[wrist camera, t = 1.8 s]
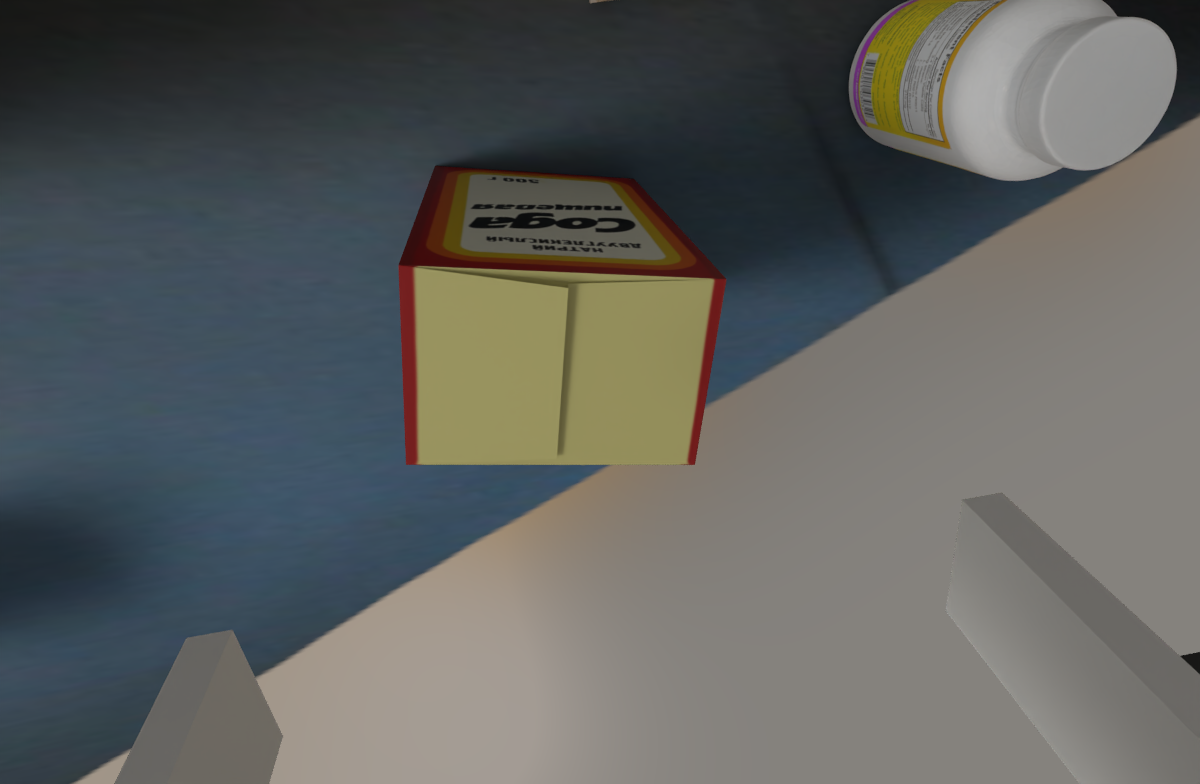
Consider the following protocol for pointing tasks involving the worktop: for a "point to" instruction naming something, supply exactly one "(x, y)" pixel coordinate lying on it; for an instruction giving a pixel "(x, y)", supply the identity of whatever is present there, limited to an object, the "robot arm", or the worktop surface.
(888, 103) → the supplement bottle
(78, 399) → the worktop surface
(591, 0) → the wooden corner frame
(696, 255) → the baking soda box
